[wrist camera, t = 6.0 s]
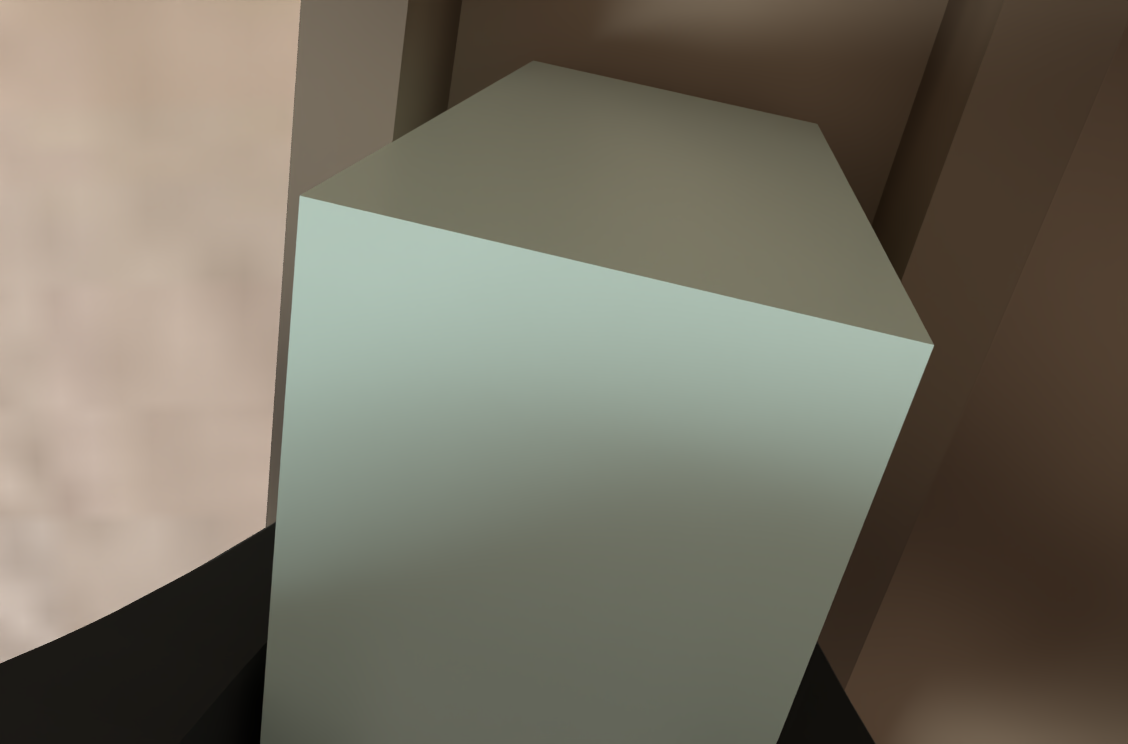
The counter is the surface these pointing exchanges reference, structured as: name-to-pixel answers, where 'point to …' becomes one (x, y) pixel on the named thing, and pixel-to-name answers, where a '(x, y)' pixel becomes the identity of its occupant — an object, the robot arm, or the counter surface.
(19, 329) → the counter surface
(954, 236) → the rack
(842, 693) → the robot arm
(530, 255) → the pale green block
